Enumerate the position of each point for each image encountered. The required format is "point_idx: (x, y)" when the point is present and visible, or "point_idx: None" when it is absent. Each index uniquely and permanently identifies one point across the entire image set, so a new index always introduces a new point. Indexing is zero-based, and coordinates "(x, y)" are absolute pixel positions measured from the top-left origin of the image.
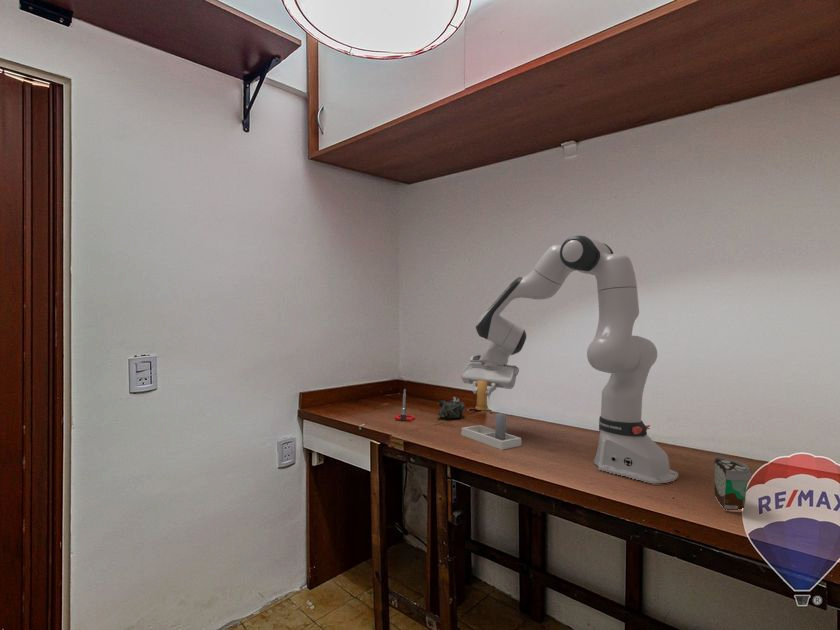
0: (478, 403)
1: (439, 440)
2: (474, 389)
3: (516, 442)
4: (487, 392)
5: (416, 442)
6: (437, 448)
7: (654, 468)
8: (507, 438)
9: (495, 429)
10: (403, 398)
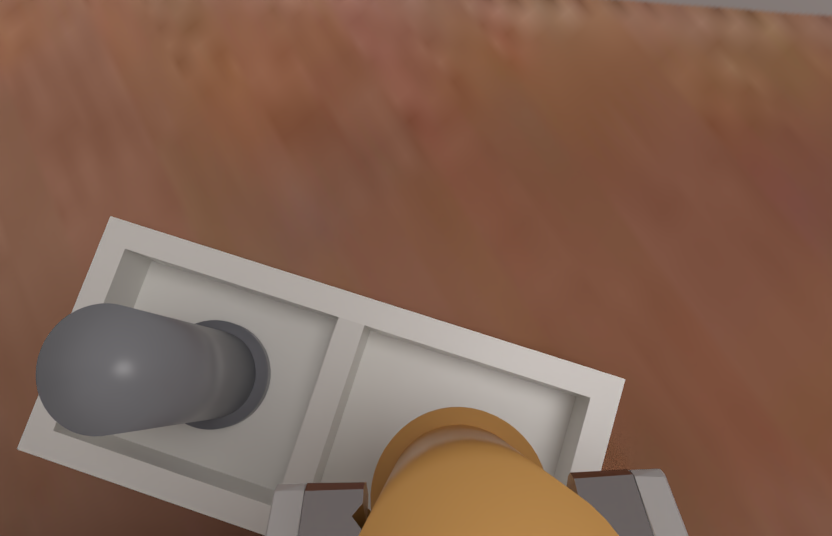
0: (476, 429)
1: (681, 185)
2: (643, 502)
3: None
4: (302, 489)
5: (770, 22)
6: (560, 11)
7: None
8: (176, 464)
9: (215, 339)
10: None
